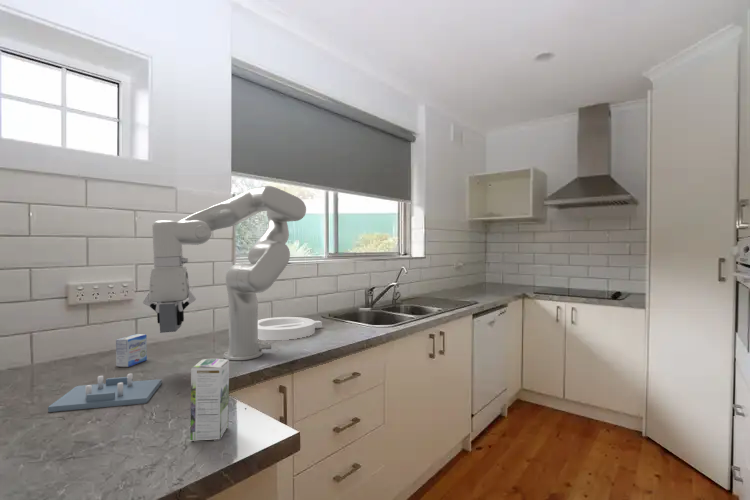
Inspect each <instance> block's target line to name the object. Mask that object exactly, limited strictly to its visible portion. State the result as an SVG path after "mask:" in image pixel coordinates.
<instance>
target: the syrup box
mask: <svg viewBox="0 0 750 500" xmlns="http://www.w3.org/2000/svg"><path fill="white" fill-rule="evenodd" d="M229 388H230V360H228V359H226V358H206V359H204V358H203V359H200V361H199V362H198V363H196V364H195V365H193V366H192V367H191V369H190V420H189V421H190V425H189V426H190V436H189V437H190V438H189V440H205V439H216V438H217V439H218V438H221V436H222V435H223V433H224V431H225V430H226V428H227V427H228V428H229V412H230V410H229V407H230V406H229V405H230V404H229V402H230V401H229V400H230V399H229V398H230V392H229V391H230V389H229ZM228 428H227V429H228ZM226 431H227V430H226ZM226 431H225V432H226ZM224 434H225V433H224ZM223 436H224V435H223ZM223 436H222V437H223ZM221 439H222V438H221Z"/></svg>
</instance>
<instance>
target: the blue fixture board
mask: <svg viewBox="0 0 750 500" xmlns="http://www.w3.org/2000/svg"><path fill="white" fill-rule="evenodd" d="M133 378H134V377H133V373H131V372H130V373H128V374H127V375H126V376H123V377H119V376H118V377H109V378H106V379H105V383H104V375H98V376H97V383H96V384H93V383H92V384H84V385H76V386H74V387H73V388H72V389H71V390H69V391H68V392H66V393H65V394H64V395H62V396H61V397H60V398H58V399H57V400H55V401H54V402H53V403H51V404H50V405H49V406H48V407H47V411H48V413H53V412H54V413H55V412H64V411H75V410H86V409H95V408H97V409H98V408H99V409H100V408H107V407H108V408H110V407H118V406H130V405H139V404H140V405H141V404H148V402H149V400H150V399H151V398H152V397H153V395H154V394H155V393H156V392H157V390H158V389H159V387H161V385H162V383H163V382H162V381H163V379H162V378H160V379H158V378H157V379H147V380H133Z"/></svg>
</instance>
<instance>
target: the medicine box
mask: <svg viewBox="0 0 750 500" xmlns="http://www.w3.org/2000/svg"><path fill="white" fill-rule="evenodd" d="M147 339H148V338H147V334H146V333H144V334H143V333H135V334H132V335H129V336H128V335H127V336H125V337H121V338H117V339H115V365H116V367H118V368H119V367H121V368H130V367H133V366H135V365H137V364H140V363H143V362H146V361H147V360H148V359H147V358H148V357H147V356H148V353H147V351H148V349H147V343H148V342H147V341H148V340H147Z"/></svg>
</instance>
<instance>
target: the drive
mask: <svg viewBox="0 0 750 500" xmlns="http://www.w3.org/2000/svg"><path fill="white" fill-rule="evenodd" d="M177 312H178V306H177V302H176V301H175V302H162V303H160V304H159V317H160V323H159V333H160V334H162V333H174V332H175V333H176V332H177V331H179V329H180V328H181V327H182V324H181V325H177Z"/></svg>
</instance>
